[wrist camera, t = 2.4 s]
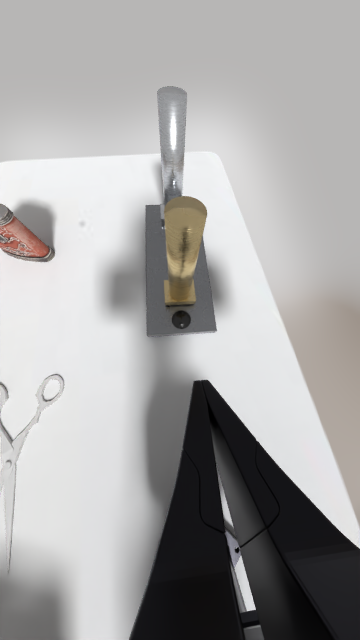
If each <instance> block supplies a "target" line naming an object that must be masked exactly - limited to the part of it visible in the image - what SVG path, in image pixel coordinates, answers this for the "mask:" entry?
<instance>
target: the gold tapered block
mask: <svg viewBox="0 0 360 640" xmlns="http://www.w3.org/2000/svg"><path fill="white" fill-rule="evenodd" d="M206 217H207V210H206V207H205V206H204V204H203V203H202V202H200V201H199V200H197V199H195V198H192V197H188V196H181V197H176V198H174V199H172V200H170V201H169V202H168V203H167V204H166V206H165V208H164V218H165V233H166V249H167V264H168V279H169V280H164V293H165V305H183V304H195V302H196V297H195V288H194V280H193V276H194V271H195V267H196V262H197V258H198V253H199V249H200V244H201V240H202V235H203V231H204V226H205V222H206Z"/></svg>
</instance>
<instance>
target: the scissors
mask: <svg viewBox="0 0 360 640" xmlns="http://www.w3.org/2000/svg"><path fill="white" fill-rule="evenodd" d="M53 379H55V380H58V381H59V383H60V390H59V393H58V394H57V396H56V397H55V398H54V399H53V400H51V401H45V400H44V398H43V392H44V389H45V386H46V385H47V384H48V382H49V381H50V380H53ZM63 390H64V381H63V379H62V378H61V377H60V376H58V375H54V376H50V377H48V378H47V379H45V380H44V381H43V383H42V384H41V386H40V387H39V389H38V391H37V393H36V397H37V400H38V402H39V407H38V408H37V412H36V416H35V417H34V418H33V420H32V421H31V422H30V424H29V425H28V426H27V427H26V428H25V430H24V431H23V432H22V433H20V434H19V435H18V436H17V438H16V439H15V440H14V441H13V442H12V440H11V439H10V437H9V436H8V434H7V433H6V431H5V430H4V429H3V427H2V425H1V422H0V437H1V450H0V456H1V461H2V466H3V467H2V470H1V473H0V495H1V491H2V486H3V482H4V508H5V530H6V548H7V567H8V571H9V561H10V550H11V539H12V528H13V514H14V501H15V481H16V462H17V460H18V457H19V455H20V452H21V449H22V446H23V443H24V441H25V439H26V437H27V434H28V432H29V430H30V429H31V428H32V426H33V425H35V424H36V423H38V421H39V417H40V414H41V412H42V411H43V410H44V409H45V408H47V407H48V406H50V405H52V404H54V403H55V402H56V401H57V400H58V398H59V397H60V396H61V394H62V392H63ZM0 394H1V395H0V414H1V408H2V407H3V405H4V404H5V402H6V401H7V400H8V392H7V390H6V388H5V387H4V386H3V385H2V384H0Z"/></svg>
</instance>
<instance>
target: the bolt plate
mask: <svg viewBox="0 0 360 640" xmlns="http://www.w3.org/2000/svg"><path fill="white" fill-rule="evenodd" d="M157 97H158V113H159V129H160V146H161V162H162V178H163V194H164V204H160V205H146V291H147V336H148V337H154V336H169V335H184V334H200V333H215V332H216V331H217V329H216V322H215V315H214V309H213V302H212V295H211V289H210V282H209V275H208V269H207V262H206V255H205V248H204V242H203V235H202V240H201V244H200V249H199V253H198V258H197V262H196V267H195V271H194V276H193V280H194V288H195V297H196V302H195V304H183V305H165V293H164V280H169V279H168V264H167V249H166V233H165V218H164V208H165V206H166V204H167V203H168V202H169V201H170V200H172V199H174V198H176V197H181V196H182V188H183V168H184V147H185V126H186V104H187V93H186V92H185V91H184V90H183V89H181V88H178V87H173V86H167V87H163V88H161V89H159V90H158V92H157Z"/></svg>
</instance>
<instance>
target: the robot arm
mask: <svg viewBox="0 0 360 640" xmlns="http://www.w3.org/2000/svg"><path fill="white" fill-rule="evenodd" d="M215 460H216V461H215ZM216 464H217V467H218V471H219V475H220V478H221V482H222V486H223V489H224V493H225V497H226V500H227V504H228V508H229V511H230V515H231V519H232V523H233V526H234V530H235V534H236V537H237V539H236V537H235V536H234V535H233V534H232V533H231V532H230V531H229V530H228V529H227V528H226V527H225V525H224V518H223V511H222V504H221V497H220V489H219V482H218V475H217V468H216ZM235 547H238V548H237V549H235ZM240 556H242V560H243V563H244V567H245V571H246V574H247V578H248V582H249V585H250V589H251V593H252V596H253V600H254V604H255V607H256V610H252V611H247V610H246V607H245V603H244V600H243V597H242V593H241V590H240V586H239V583H238V580H237V576H236V573H235V569H234V568H235V566H236V564H237V562H238V560H239V558H240ZM129 640H360V549H359V548H358V547H357V546H356V545H355V544H353V543H352V542H351V541H350V540H349V539H348V538H347V537H346V536H344V535H343V534H342V533H341V532H340V531H339V530H338V529H337V528H336V527H335V526H334V525H333V524H332V523H331V522H330V521H329V520H328V519H327V517H326V516H325V515H324V514H323V513H322V512H321V511H320V510H319V509H318V508H317V507H316V506H315V505H314V504H313V503H312V502H311V500H310V499H309V498H308V497H307V496H306V495H305V494H304V493H303V492H302V491H301V490H300V489H299V488H298V487H297V486H296V484H295V483H294V482H293V481H292V480H291V479H290V478H289V477H288V476H287V475H286V474H285V473H284V471H283V470H282V469H281V468H280V467H279V466H278V465H277V464H276V463H275V461H274V460H273V459H272V458H271V457H270V455H269V454H268V453H267V452H266V451H265V450H264V448H263V447H262V446H261V445H260V443H259V442H258V441H256V438H255V437H254V436H253V435H252V434H251V432H250V431H249V430H248V429H247V427H246V426H245V425H244V424H243V422H242V421H241V420H240V419H239V417H238V416H237V415H236V414H235V413H234V411H233V410H232V409H231V408H230V406H229V405H228V404H227V403H226V401H225V400H224V399H223V398H222V396H221V395H220V394H219V393H218V392H217V390H216V389H215V388H214V387H213V385H212V384H211V383H210V382H209V381H208V380H201V381H200V380H199V381H194V383H193V389H192V394H191V400H190V406H189V412H188V418H187V424H186V430H185V436H184V441H183V447H182V453H181V458H180V464H179V469H178V474H177V478H176V482H175V486H174V490H173V494H172V498H171V502H170V505H169V509H168V513H167V516H166V520H165V524H164V527H163V531H162V534H161V538H160V542H159V545H158V549H157V553H156V556H155V560H154V563H153V566H152V570H151V573H150V576H149V580H148V583H147V586H146V589H145V592H144V595H143V598H142V601H141V604H140V607H139V611H138V614H137V617H136V620H135V623H134V626H133V629H132V632H131V635H130V638H129Z"/></svg>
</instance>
